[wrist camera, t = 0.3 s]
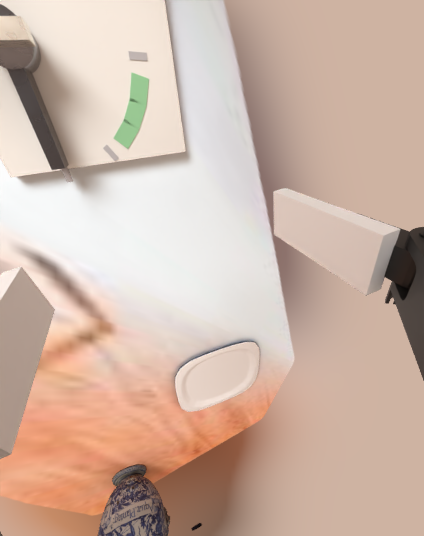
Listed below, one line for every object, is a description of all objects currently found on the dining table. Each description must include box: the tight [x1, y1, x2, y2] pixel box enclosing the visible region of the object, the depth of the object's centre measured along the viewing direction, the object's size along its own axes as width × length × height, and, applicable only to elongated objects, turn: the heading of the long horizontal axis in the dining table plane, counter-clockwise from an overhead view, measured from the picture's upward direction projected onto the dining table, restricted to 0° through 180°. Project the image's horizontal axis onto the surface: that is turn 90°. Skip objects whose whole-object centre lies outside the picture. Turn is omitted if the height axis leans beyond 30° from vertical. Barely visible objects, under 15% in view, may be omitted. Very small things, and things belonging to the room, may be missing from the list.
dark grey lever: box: [0, 4, 69, 170], centre depth 23 cm, size 13×5×5 cm, turn 6°
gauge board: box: [0, 0, 186, 182], centre depth 27 cm, size 18×22×2 cm
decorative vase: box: [98, 465, 170, 536], centre depth 66 cm, size 21×19×28 cm
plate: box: [175, 341, 260, 412], centre depth 67 cm, size 25×25×2 cm
